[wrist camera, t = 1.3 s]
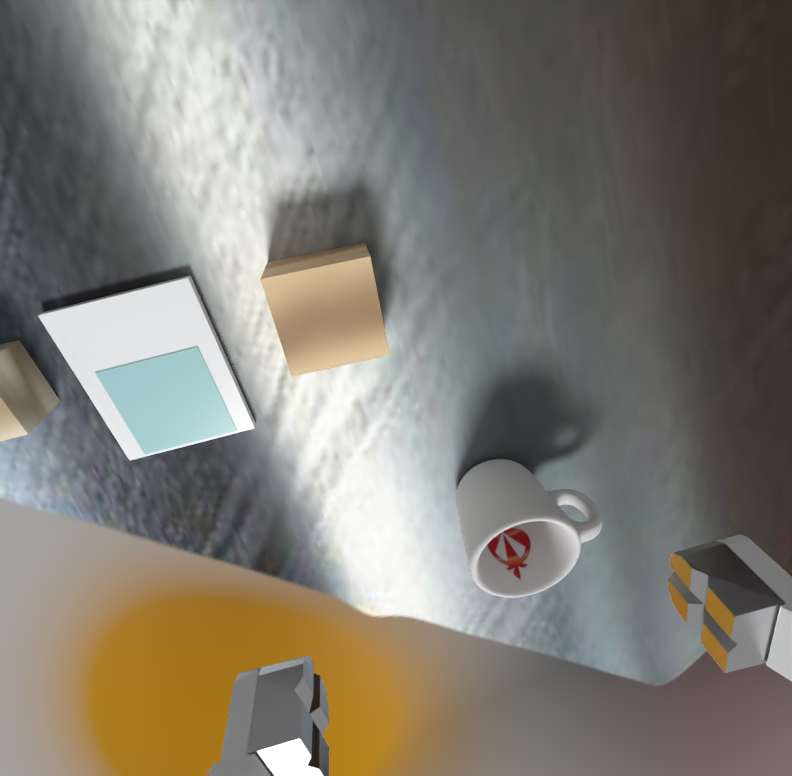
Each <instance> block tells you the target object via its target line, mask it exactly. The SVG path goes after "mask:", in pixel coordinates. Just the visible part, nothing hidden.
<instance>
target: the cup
mask: <svg viewBox="0 0 792 776" xmlns="http://www.w3.org/2000/svg"><path fill="white" fill-rule="evenodd" d="M563 504H569V505H572V506H575V507H577V508H578V509H580V510H581V511H582V512H583V513H584V514H585V515H586V516H587V518H588V520H589V521H588V522H584V523H583V522H577V521H574V520H572V519H570V518H569V517H567V516H566V515H565V513H564V512H563V511H562V510H561V508H560V507H559V506H560V505H563ZM456 507H457V513H458V517H459V522H460V527H461V532H462V537H463V541H464V546H465V551H466V556H467V560H468V565H469V570H470V573H471V576H472V578H473V580H474V581H475V582H476V584H477V585H478V586H479V587H480V588H481V589H483V590H484V591H486V592H488V593H490V594H493V595H496V596H501V597H523V596H528V595H532V594H535V593H538V592H541V591H543V590H545V589H547V588H549V587H551V586H553V585H555V584H556V583H557V582H559V581H560V580H561V579H563V578H564V577H565V576H566V575H567V574H568V573H569V572H570V570H571V569H572V568H573V567H574V565H575V563H576V561H577V560H578V557H579V554H580V550H581V543H583V542H586V541H589V540H591V539H593V538H595V537H596V536H597V535H598V534H599V533H600V531H601V527H602V516H601V513H600V511H599V509H598V508H597V506H596V505H595V504H594V503H593V502H592V501H591V500H590V499H589V498H588V497H587V496H585V495H584V494H582V493H580V492H578V491H575V490H571V489H560V490H553V491H546V490H545V489H544V488H543V486H542V485H541V484H540V483H539V482H538V480H537V479H536V478H535V477H534V476H533V474H532V473H531V472H530V471H529V470H528V469H526V468H525V467H524V466H522V465H521V464H519V463H517V462H515V461H512V460H507V459H493V460H488V461H485V462H482V463H480V464H478V465H476V466H475V467H473V468H472V469H471V470H469V471H468V472H467V473H466V474H465V475H464V477H463V478H462V480H461V481H460V483H459V485H458V488H457V492H456Z"/></svg>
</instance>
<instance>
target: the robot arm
mask: <svg viewBox="0 0 792 776" xmlns="http://www.w3.org/2000/svg"><path fill="white" fill-rule="evenodd" d="M669 565H670V567H671V568H672V569H673V570H674V572H673V574H672V575H671V576H670V577H669V579H668V590H669V593H670V596H671V599H672V602H673V604H674V606H675V607H676V609H677V611H678V613H679V614H680V615H681V617H682V618H683V619H684V621H685V622H686V623H687V624H689V625H691V626H693V627H695V628H697V629H699V630H700V631H701V643H702V644H703V645H704V647H705V648H706V649H707V651H708V652H709V653H710V654H711V656H712V657H713V658H714V659H715V661H716V662H717V663H718V665H719V666H720V667H721V669H722V670H723V671H724V672H725V673H727V672H731V671H735V670H739V669H743V668H747V667H751V666H755V665H759V664H763V663H767V664H766V665H767V666H768V667H770V668H771V669H773V670H774V671H776V672H778V673H779V674H781V675H782V676H784V677H786V678H787V679H789V680H790V681H792V577H791V576H790V575H789V574H788V573H787V572H786V571H784V570H783V569H782V568H781V567H780V566H779V565H778V564H777V563H776V562H774V561H773V560H772V559H771V558H770V557H769V556H768V555H767V554H766V553H764V552H763V551H762V550H761V549H760V548H759V547H758V546H757V545H756V544H754V543H753V542H752V541H751V540H750V539H749V538H748V537H745V536H743V535H735V536H732V537H728V538H725V539H722V540H719V541H712V542H709V543H705V544H702V545H699V546H695V547H692V548H689V549H685V550H682V551H679V552H675V553H673V554H672V555H671V556H670V562H669ZM328 724H329V708H328V700H327V693H326V690H325V686H324V683H323V681H322V679H321V677H320V676H319V675H317V674H314V664H313V662H312V660H311V659H310V657H309V655H307V656H304V657H300V658H296V659H293V660H288V661H285V662H281V663H277V664H274V665H269V666H266V667H261V668H257V669H254V670H250V671H246V672H243V673H240V674H238V676H237V678H236V680H235V683H234V687H233V692H232V698H231V704H230V710H229V715H228V721H227V727H226V733H225V738H224V744H223V750H222V755H221V762H220V763H217V764H214V765H213V766H212V767H211V769H210V771H209V772H208V774H207V775H206V776H329V746H328V744H327V743H326V741H325V739H324V737H323V733H324V732H325V730H326V728H327V726H328Z"/></svg>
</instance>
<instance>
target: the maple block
mask: <svg viewBox="0 0 792 776" xmlns="http://www.w3.org/2000/svg"><path fill="white" fill-rule="evenodd" d="M60 402H61V401H60V400H59V398H58V397H57V395H56V394H55V392H54V391H53V389H52V388H51V386H50V385H49V383H48V382H47V380H46V379H45V377H44V376H43V375H42V373H41V372H40V370H39V369H38V367H37V366H36V364H35V363H34V361H33V360H32V358H31V357H30V355H29V354H28V352H27V351H26V349H25V348H24V346H23V345H22V343H21V342H20V340H17V341H13V342H9V343H5V344H1V345H0V441H4V440H8V439H12V438H16V437H19V436H23V435H27V434H29V433H30V432H31V431H32V430H33V429H34V428H35V427H36V426H37V425H38V424H39V423H40V422H41V421H42V420H43V419H44V418H45V417H46V416H47V415H48V414H49V413H50V412H51V411H52V410H53V409H54V408H55V407H56V406H57V405H58V404H59V403H60Z"/></svg>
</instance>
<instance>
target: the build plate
mask: <svg viewBox="0 0 792 776" xmlns="http://www.w3.org/2000/svg"><path fill="white" fill-rule="evenodd" d="M38 317H39V318H40V320H41V321H42V323H43V324H44V326H45V328H46V329H47V331H48V332H49V334H50V335H51V337H52V339H53V340H54V342H55V343H56V345H57V347H58V348H59V350H60V351H61V353H62V354H63V356H64V358H65V359H66V361H67V362H68V364H69V366H70V367H71V369H72V370H73V372H74V373H75V375H76V377H77V378H78V380H79V381H80V383H81V385H82V386H83V388H84V389H85V391H86V392H87V394H88V396H89V397H90V399H91V400H92V402H93V403H94V405H95V407H96V408H97V410H98V411H99V413H100V415H101V416H102V418H103V419H104V421H105V422H106V424H107V426H108V427H109V429H110V430H111V432H112V434H113V435H114V437H115V438H116V440H117V441H118V443H119V445H120V446H121V448H122V449H123V451H124V453H125V454H126V456H127V457H128V459H129V460H134V459H137V458H141V457H145V456H149V455H153V454H157V453H161V452H165V451H169V450H172V449H176V448H180V447H184V446H188V445H192V444H196V443H200V442H204V441H207V440H211V439H215V438H219V437H223V436H227V435H231V434H235V433H239V432H242V431H246V430H250V429H254V428H255V425H256V423H255V421H254V418H253V416H252V414H251V412H250V409H249V407H248V405H247V403H246V400H245V398H244V396H243V393H242V391H241V389H240V387H239V384H238V382H237V380H236V378H235V375H234V373H233V371H232V368H231V366H230V364H229V362H228V359H227V357H226V355H225V353H224V350H223V348H222V346H221V343H220V341H219V339H218V337H217V334H216V332H215V330H214V327H213V325H212V323H211V321H210V318H209V316H208V314H207V312H206V309H205V307H204V305H203V302H202V300H201V298H200V296H199V293H198V291H197V289H196V287H195V284H194V282H193V280H192V277H191V275H189V276H185V277H181V278H177V279H173V280H169V281H165V282H161V283H157V284H153V285H149V286H145V287H141V288H137V289H133V290H129V291H125V292H121V293H117V294H113V295H109V296H105V297H101V298H97V299H93V300H89V301H86V302H82V303H78V304H74V305H70V306H66V307H62V308H58V309H54V310H50V311H46V312H43V313H41V314H39V315H38Z"/></svg>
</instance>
